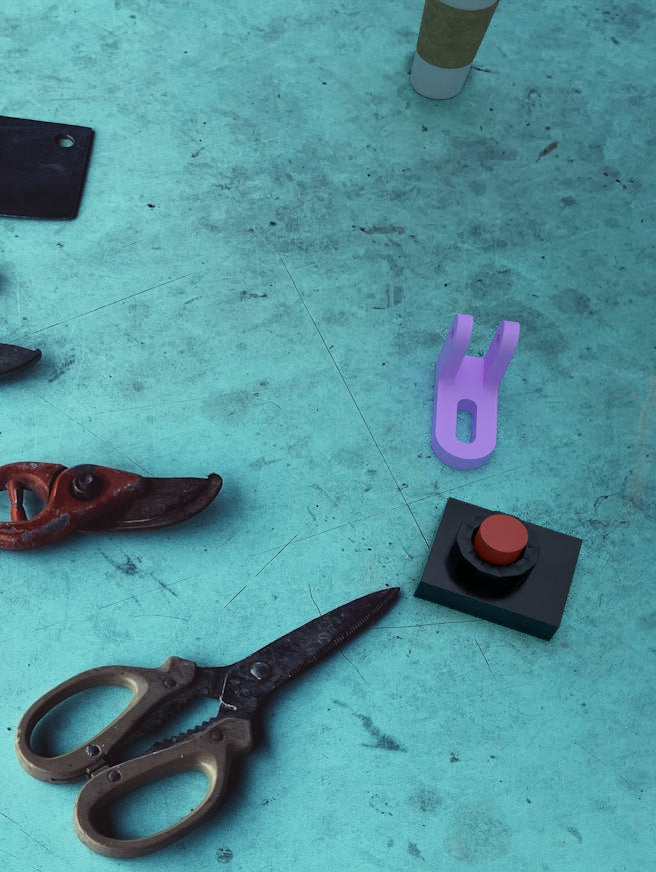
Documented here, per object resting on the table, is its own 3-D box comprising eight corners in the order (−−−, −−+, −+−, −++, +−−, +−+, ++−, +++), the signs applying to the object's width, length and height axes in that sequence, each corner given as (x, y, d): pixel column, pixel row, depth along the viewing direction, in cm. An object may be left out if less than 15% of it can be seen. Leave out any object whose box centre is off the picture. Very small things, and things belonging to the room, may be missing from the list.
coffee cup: (473, 65, 137) (522, -80, 123) (472, 111, 133) (522, -33, 120) (400, 55, 137) (440, -90, 124) (396, 101, 133) (437, -43, 120)
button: (525, 536, 102) (532, 523, 101) (514, 571, 101) (522, 558, 99) (479, 521, 103) (486, 508, 101) (468, 556, 101) (475, 542, 100)
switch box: (573, 555, 106) (592, 525, 102) (549, 642, 102) (568, 614, 98) (441, 512, 108) (455, 482, 104) (412, 596, 104) (426, 567, 100)
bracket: (435, 363, 116) (458, 304, 110) (493, 371, 116) (520, 313, 109) (429, 464, 110) (453, 409, 104) (490, 473, 110) (518, 418, 104)
